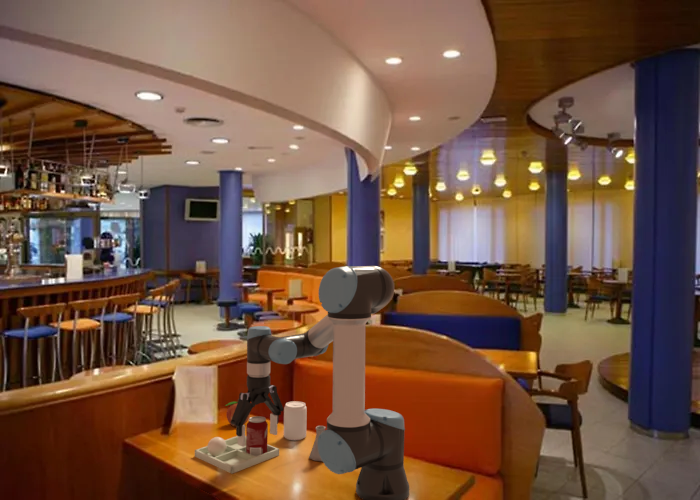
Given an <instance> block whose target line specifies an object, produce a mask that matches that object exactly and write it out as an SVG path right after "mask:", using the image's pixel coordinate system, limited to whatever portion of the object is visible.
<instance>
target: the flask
mask: <svg viewBox="0 0 700 500" xmlns="http://www.w3.org/2000/svg"><path fill="white" fill-rule="evenodd" d="M326 429H327V426H324V425H317V426H316V427H315V430H316V431H315V432H316V434H315V439H314V443H313V446H312V447H311V450H310V453H309V455H308V459H310V460H312V461H315V462H323V461H322V459H321V457H320V455H319V451H318V437H319V435H320V434H321V433H322V432H323V431H325V430H326Z"/></svg>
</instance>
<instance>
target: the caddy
mask: <svg viewBox="0 0 700 500" xmlns="http://www.w3.org/2000/svg"><path fill="white" fill-rule="evenodd" d="M224 440H225V442H226V450H225V452H224V453H223V454H222V455H219V456H216V457H214V456H212V455H210V454H209V452H208V449H207V446H208V445H206V446H203V447H200V448H197V449H194V457H195V458H197V459H199V460H201V461H203V462H205V463H208V464H210V465H212V466H214V467H217V468H219V469H221V470H223V471H225V472H227V473H229V474H232V475H233V474H235V473H238V472H240V471H242V470H245V469H247V468H250V467H253V466H255V465H257V464H260V463H264V462H265V461H267V460H271V459H272V458H276V457H279V456H280V448H278V447H275V446H273V445H270V444H268V443H267V453H264V454H262V455H259V456H253V455H251V454H248V453H246V435H245V446H244V447H242V446H240V445H238V436H237V435H236V436H232V437H230V438H227V439H224Z"/></svg>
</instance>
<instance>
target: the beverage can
mask: <svg viewBox="0 0 700 500" xmlns="http://www.w3.org/2000/svg"><path fill="white" fill-rule="evenodd" d="M283 408H284V410H283V437H284V438H285V440H289V441H301V440H302V439H304V438H306V437H307V418H308V417H307V412H308V411H307V408H308V407H307V406H306V402H303V401H298V400H296V401H295V400H294V401H293V400H292V401H288V402H286V403H285V405H284V406H283Z"/></svg>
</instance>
